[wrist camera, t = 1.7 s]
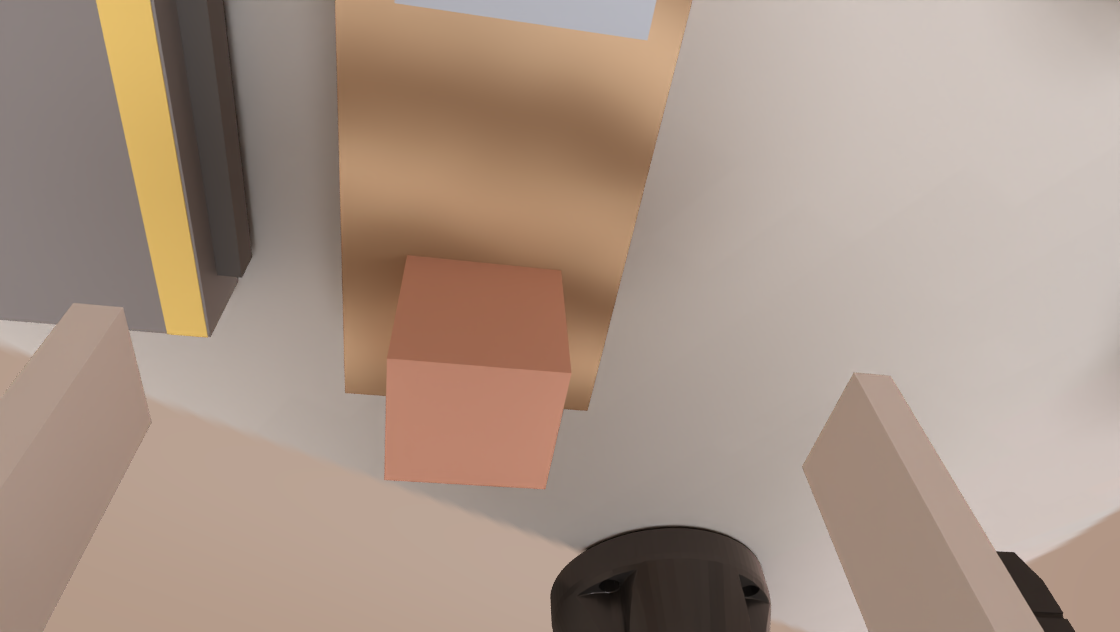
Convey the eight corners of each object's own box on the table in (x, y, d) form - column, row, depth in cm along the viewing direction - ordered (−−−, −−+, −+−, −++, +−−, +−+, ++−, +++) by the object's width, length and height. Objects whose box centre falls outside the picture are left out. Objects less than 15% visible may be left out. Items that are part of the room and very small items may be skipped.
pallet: (575, 309, 37) (587, 410, 31) (370, 290, 35) (345, 392, 30) (710, -316, 22) (777, -335, 17) (372, -391, 21) (323, -438, 15)
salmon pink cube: (539, 380, 30) (545, 489, 26) (402, 370, 29) (384, 479, 25) (561, 270, 27) (571, 373, 22) (407, 254, 26) (386, 358, 22)
